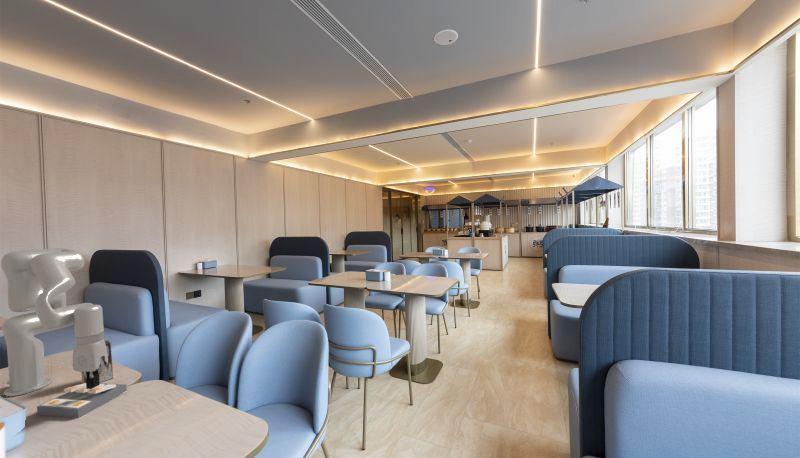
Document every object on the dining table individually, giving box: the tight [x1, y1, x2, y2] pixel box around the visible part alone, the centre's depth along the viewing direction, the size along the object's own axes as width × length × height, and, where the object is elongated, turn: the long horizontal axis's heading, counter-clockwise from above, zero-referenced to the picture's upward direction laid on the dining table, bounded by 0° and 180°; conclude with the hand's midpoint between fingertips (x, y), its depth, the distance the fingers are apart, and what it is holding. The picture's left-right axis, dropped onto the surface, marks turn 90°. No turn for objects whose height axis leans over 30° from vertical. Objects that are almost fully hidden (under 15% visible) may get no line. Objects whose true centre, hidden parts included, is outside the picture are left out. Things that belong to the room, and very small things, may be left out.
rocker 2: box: [76, 384, 104, 393], centre depth 116 cm, size 4×7×1 cm, turn 172°
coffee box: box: [80, 340, 114, 384], centre depth 130 cm, size 9×6×16 cm
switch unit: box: [36, 382, 128, 419], centre depth 113 cm, size 18×16×4 cm
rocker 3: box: [88, 383, 116, 394], centre depth 115 cm, size 4×7×1 cm, turn 171°
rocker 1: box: [63, 383, 86, 393], centre depth 116 cm, size 4×7×1 cm, turn 172°
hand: (93, 386), depth 111 cm, fingers closed
